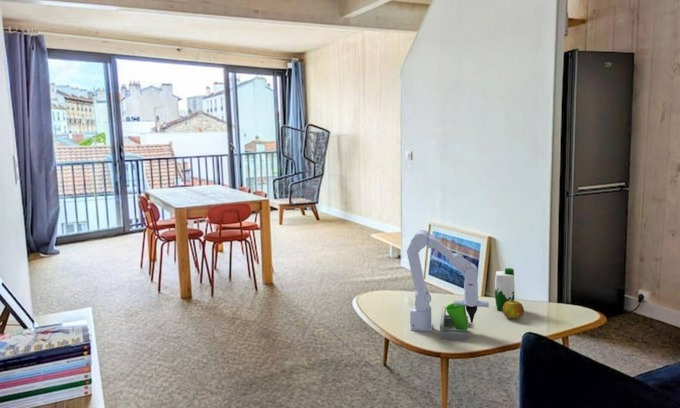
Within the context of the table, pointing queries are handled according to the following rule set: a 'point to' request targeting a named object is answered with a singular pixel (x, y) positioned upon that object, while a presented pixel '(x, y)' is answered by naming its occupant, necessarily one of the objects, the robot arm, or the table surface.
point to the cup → (458, 316)
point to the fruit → (513, 309)
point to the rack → (451, 333)
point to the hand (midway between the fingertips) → (471, 322)
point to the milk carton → (504, 287)
